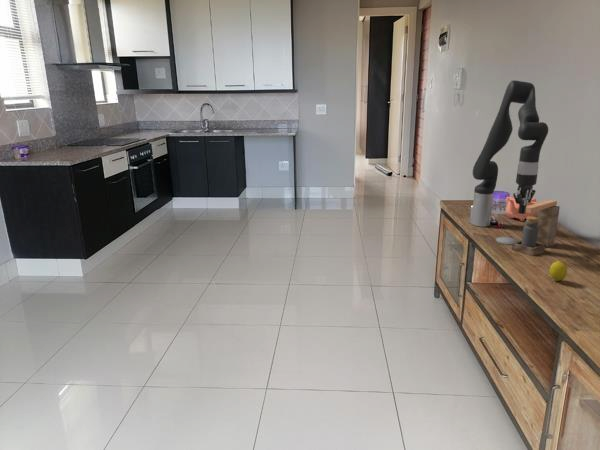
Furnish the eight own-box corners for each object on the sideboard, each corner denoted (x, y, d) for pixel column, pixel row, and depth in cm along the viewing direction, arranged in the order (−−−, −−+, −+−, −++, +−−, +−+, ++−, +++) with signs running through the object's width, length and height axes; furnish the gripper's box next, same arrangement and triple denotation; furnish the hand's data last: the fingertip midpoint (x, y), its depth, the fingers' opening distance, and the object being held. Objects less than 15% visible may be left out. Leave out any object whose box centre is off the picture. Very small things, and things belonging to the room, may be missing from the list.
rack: (511, 249, 196) (516, 210, 190) (536, 240, 207) (542, 203, 201) (532, 255, 188) (538, 215, 183) (557, 245, 199) (563, 207, 194)
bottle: (537, 253, 191) (542, 219, 187) (522, 252, 192) (527, 219, 188) (533, 248, 197) (537, 216, 192) (519, 247, 198) (523, 215, 193)
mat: (491, 240, 207) (491, 239, 207) (504, 236, 213) (504, 235, 213) (511, 246, 199) (511, 245, 199) (524, 242, 205) (524, 241, 205)
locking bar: (523, 211, 188) (524, 206, 187) (549, 203, 199) (550, 199, 198) (530, 212, 185) (531, 208, 185) (556, 205, 196) (557, 200, 196)
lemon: (544, 278, 166) (547, 258, 163) (558, 277, 166) (562, 257, 164) (554, 284, 160) (557, 264, 158) (568, 283, 161) (572, 263, 158)
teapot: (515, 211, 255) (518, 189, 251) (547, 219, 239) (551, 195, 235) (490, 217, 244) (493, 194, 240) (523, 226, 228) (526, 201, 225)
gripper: (527, 169, 186) (522, 209, 191) (509, 173, 179) (504, 214, 184) (545, 171, 180) (539, 212, 185) (527, 175, 173) (521, 218, 178)
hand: (521, 213), depth 185 cm, fingers closed
